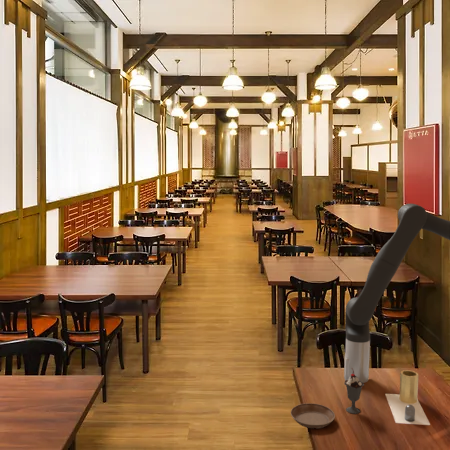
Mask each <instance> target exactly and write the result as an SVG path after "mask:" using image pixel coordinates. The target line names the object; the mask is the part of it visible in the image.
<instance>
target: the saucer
mask: <svg viewBox="0 0 450 450" xmlns="http://www.w3.org/2000/svg"><path fill="white" fill-rule="evenodd" d="M290 415H291V417H292V418H293V420H294V421H295V422H296V423H298V424H299V425H300V426H302V427H305V428H308V429H314V428H316V429H323V428H325V427H328V426H329V425H330V424H331V423H332V422H333V421H334V420H335V417H336V415H335V412H334V411H333V410H332V409H331V408H329V407H328V406H325V405H323V404H320V403H311V402H309V403H307V402H306V403H300V404H297V405H295V406H294V407H292V408H291V410H290Z"/></svg>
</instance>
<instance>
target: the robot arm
mask: <svg viewBox="0 0 450 450" xmlns="http://www.w3.org/2000/svg"><path fill="white" fill-rule="evenodd" d="M397 218H398V220H399V222H398V223H399V224H398V226H397V228H396V230H395V231H394V233H393V235H392V236H391V238H390V239H388V240H387V242H386V243H385V244H384V245H383V246H382V247H381V248H380V250H379V251H378V253H377V254H376V256H375V258H374V259H373V261H372V263H371V265H370V267H369V271H368V272H367V277H366V280H365V283H364V287H363V288H362V290H361V292H360V294H359V295H358V296H357V297H352V298H350V299H349V301H348V302H347V303H346V306H345V315H344V316H345V321H344V322H345V354H344V364H343V365H344V368H343V369H344V371H343V378H344V381H345V380H349V378H350V377H351V374H353V371H354V374H355V376H356V377H357V378H358V380H359V381H361V382H362V383H363V384H364V383H367V382H368V381H369V378H370V377H369V376H370V375H369V374H370V372H369V371H370V348H371V347H370V345H371V332H370V331H371V330H370V321H371V320H372V318H373V315H374V313H375V311H376V308H377V306H378V303H379V301H380V299H381V297H382V296H383V294H384V293H385V291H386V289H387V288H388V286H389V284H390V283H391V281H392V279H393V278H394V276H395V275H396V273H397V272H398V269H399V268H400V266H401V264H402V262H403V260H404V259H405V256H406V255H407V252H408V250H409V248H410V247H411V245H412V242H414V240H415V239H416V237H417V236H418V234H419V233H420V231H421V230H425V231H427V232H431V233H434V234H435V235H438V236H440V237H441V238H444V239H446V240H448V241H450V220H447V219H444V218H442V217H438V216H436V215H433V214H432V213H430V212H427V210H426V209H425V208H424V207H423V206H422V205H420V204H419V205H418V204H416V203H406V204H403V205H402V206H401V207H400V208H399V209H398V212H397ZM352 368H353V370H352Z"/></svg>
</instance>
